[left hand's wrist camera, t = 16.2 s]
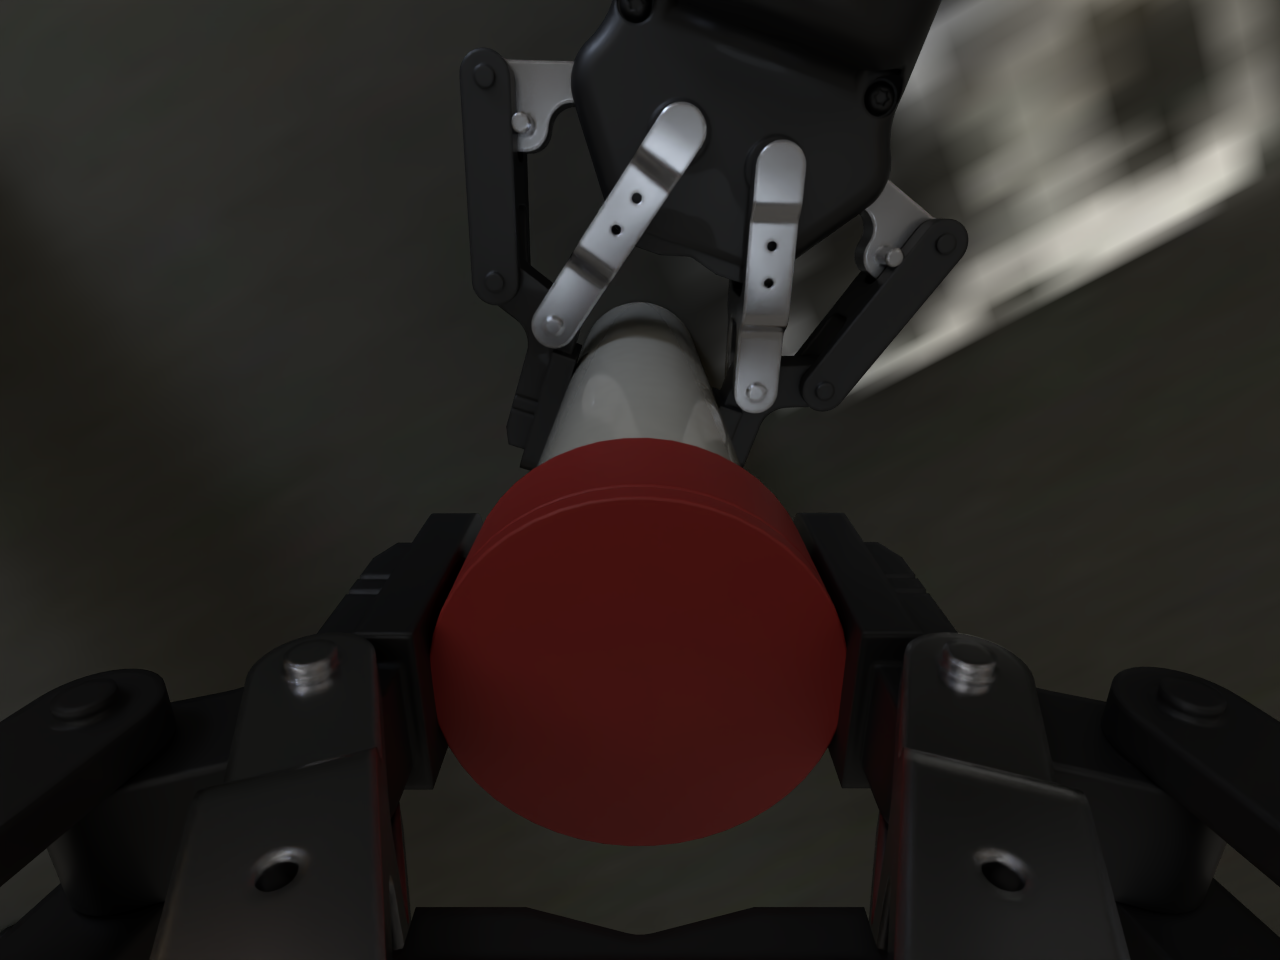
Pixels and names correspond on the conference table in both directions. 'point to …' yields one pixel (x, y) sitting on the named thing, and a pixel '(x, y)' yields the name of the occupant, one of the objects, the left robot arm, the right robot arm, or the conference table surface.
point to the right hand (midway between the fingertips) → (610, 483)
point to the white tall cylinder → (639, 386)
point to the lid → (638, 647)
